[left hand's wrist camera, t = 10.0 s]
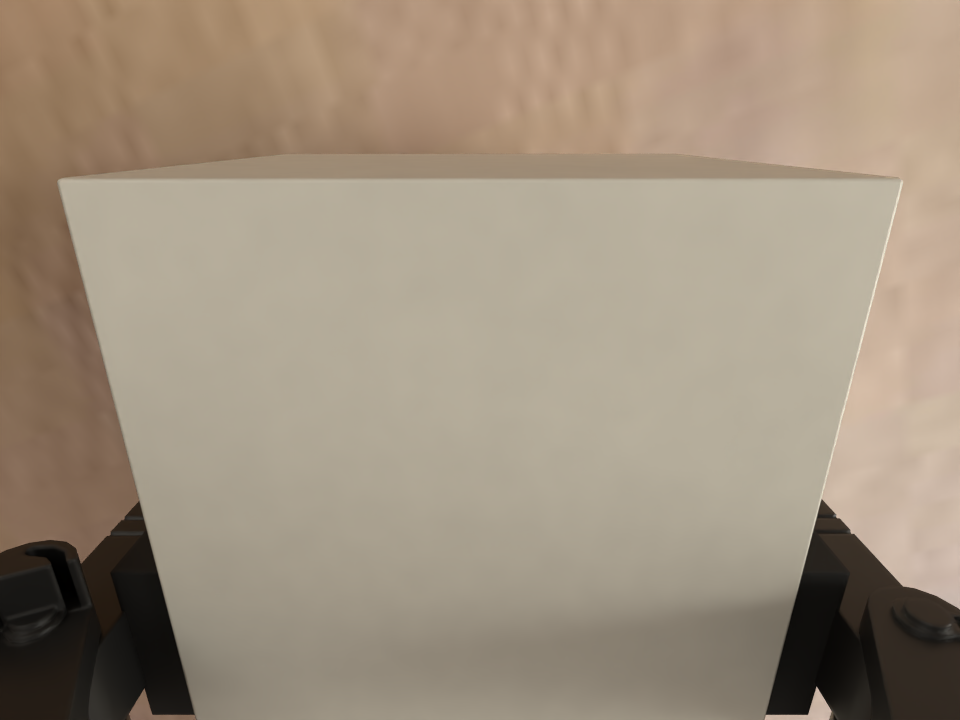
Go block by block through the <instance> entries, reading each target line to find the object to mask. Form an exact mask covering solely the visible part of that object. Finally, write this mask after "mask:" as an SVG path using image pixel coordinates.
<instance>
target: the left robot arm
mask: <svg viewBox="0 0 960 720" xmlns="http://www.w3.org/2000/svg"><path fill="white" fill-rule="evenodd" d="M816 686H817V687H818V689H819V691H820V692H821V694H822V696H823V697H824V699H825V701H826V702H827V704H828V706H829V707H830V709H831V710H832V713H831V716H830V719H829V720H960V610H959V609H958V608H957V607H955V606H953V605H951V604H949V603H948V602H946V601H944V600H942V599H941V598H939V597H937V596H934V595H932V594H929V593H926V592H923V591H920V590H918V589H915V588H909V587H903V586H902V585H901V584H900V583H899V582H898V581H897V580H896V579H895V578H894V576H893V575H892V574H891V573H890V572H889V571H888V570H887V569H886V568H885V567H884V566H883V565H882V564H881V562H880V561H879V560H878V559H877V558H876V557H875V556H874V555H873V554H872V553H871V552H870V551H869V550H868V548H867V547H866V546H865V545H864V544H863V543H862V542H861V541H860V540H859V539H858V538H857V537H856V536H855V534H851V532H850V529H849V528H848V527H847V526H846V525H845V524H844V523H843V522H842V520H841V519H840V518H836V514H835V513H834V512H833V511H832V510H831V509H830V508H829V506H828V505H827V504H826V503H825V502H824V501H823V500H822V499H821V502H820V506H819V510H818V514H817V518H816V522H815V526H814V529H813V533H812V537H811V541H810V545H809V549H808V553H807V557H806V560H805V564H804V568H803V572H802V576H801V580H800V584H799V588H798V591H797V595H796V599H795V603H794V607H793V611H792V615H791V619H790V622H789V626H788V630H787V634H786V638H785V642H784V646H783V650H782V653H781V657H780V661H779V665H778V669H777V673H776V677H775V680H774V684H773V688H772V692H771V696H770V700H769V704H768V708H767V711H766V715H808V713H809V709H810V706H811V703H812V699H813V696H814V693H815V689H816ZM144 688H145V691H146V694H147V698H148V701H149V704H150V708H151V711H152V715H195V714H194V710H193V706H192V702H191V698H190V695H189V691H188V687H187V683H186V679H185V675H184V671H183V667H182V664H181V660H180V656H179V652H178V648H177V644H176V640H175V637H174V633H173V629H172V625H171V621H170V617H169V613H168V609H167V606H166V602H165V598H164V594H163V590H162V586H161V582H160V579H159V575H158V571H157V567H156V563H155V559H154V555H153V552H152V548H151V544H150V540H149V536H148V532H147V528H146V524H145V521H144V517H143V513H142V509H141V505H140V501H139V502H138V503H137V504H136V505H135V506H134V507H133V508H132V509H131V511H130V512H129V513H128V514H127V515H126V516H125V520H121V521H120V522H119V524H118V525H117V526H116V527H115V528H114V529H113V530H112V531H111V535H110V536H107V537H106V538H105V539H104V540H103V541H102V542H101V543H100V544H99V545H98V546H97V547H96V548H95V550H94V551H93V552H92V553H91V554H90V555H89V556H88V557H87V558H86V559H85V560H84V561H83V563H82V564H81V563H80V560H79V557H78V554H77V550H76V548H75V547H73V546H72V545H70V544H69V543H67V542H63V541H54V540H47V541H40V542H33V543H28V544H24V545H21V546H18V547H15V548H12V549H9V550H6V551H4V552H2V553H0V720H131V719H130V716H129V713H130V711H131V709H132V708H133V706H134V704H135V703H136V701H137V699H138V698H139V696H140V694H141V693H142V691H143V689H144Z"/></svg>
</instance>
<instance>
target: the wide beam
mask: <svg viewBox="0 0 960 720" xmlns="http://www.w3.org/2000/svg"><path fill="white" fill-rule="evenodd" d="M57 184H58V188H59V192H60V196H61V200H62V204H63V208H64V211H65V215H66V219H67V223H68V227H69V231H70V235H71V239H72V242H73V246H74V250H75V254H76V258H77V262H78V266H79V269H80V273H81V277H82V281H83V285H84V289H85V293H86V296H87V300H88V304H89V308H90V312H91V316H92V320H93V324H94V327H95V331H96V335H97V339H98V343H99V347H100V351H101V354H102V358H103V362H104V366H105V370H106V374H107V378H108V381H109V385H110V389H111V393H112V397H113V401H114V405H115V409H116V412H117V416H118V420H119V424H120V428H121V432H122V436H123V439H124V443H125V447H126V451H127V455H128V459H129V463H130V467H131V470H132V474H133V478H134V482H135V486H136V490H137V494H138V497H139V501H140V505H141V509H142V513H143V517H144V521H145V524H146V528H147V532H148V536H149V540H150V544H151V548H152V552H153V555H154V559H155V563H156V567H157V571H158V575H159V579H160V582H161V586H162V590H163V594H164V598H165V602H166V606H167V609H168V613H169V617H170V621H171V625H172V629H173V633H174V637H175V640H176V644H177V648H178V652H179V656H180V660H181V664H182V667H183V671H184V675H185V679H186V683H187V687H188V691H189V695H190V698H191V702H192V706H193V710H194V714H195V718H196V720H764V719H765V715H766V711H767V708H768V704H769V700H770V696H771V692H772V688H773V684H774V680H775V677H776V673H777V669H778V665H779V661H780V657H781V653H782V650H783V646H784V642H785V638H786V634H787V630H788V626H789V622H790V619H791V615H792V611H793V607H794V603H795V599H796V595H797V591H798V588H799V584H800V580H801V576H802V572H803V568H804V564H805V560H806V557H807V553H808V549H809V545H810V541H811V537H812V533H813V529H814V526H815V522H816V518H817V514H818V510H819V506H820V502H821V498H822V495H823V491H824V487H825V483H826V479H827V475H828V471H829V467H830V464H831V460H832V456H833V452H834V448H835V444H836V440H837V436H838V433H839V429H840V425H841V421H842V417H843V413H844V409H845V405H846V402H847V398H848V394H849V390H850V386H851V382H852V378H853V374H854V371H855V367H856V363H857V359H858V355H859V351H860V347H861V343H862V340H863V336H864V332H865V328H866V324H867V320H868V316H869V312H870V309H871V305H872V301H873V297H874V293H875V289H876V285H877V282H878V278H879V274H880V270H881V266H882V262H883V258H884V254H885V251H886V247H887V243H888V239H889V235H890V231H891V227H892V223H893V220H894V216H895V212H896V208H897V204H898V200H899V196H900V192H901V189H902V185H903V180H902V179H900V178H897V177H887V176H878V175H868V174H859V173H849V172H840V171H831V170H821V169H812V168H802V167H793V166H784V165H774V164H765V163H755V162H746V161H737V160H727V159H718V158H708V157H699V156H690V155H680V154H281V155H272V156H263V157H253V158H244V159H235V160H225V161H216V162H207V163H197V164H188V165H178V166H169V167H160V168H150V169H141V170H132V171H122V172H113V173H104V174H94V175H85V176H75V177H66V178H61V179H59V180H58V182H57Z"/></svg>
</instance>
